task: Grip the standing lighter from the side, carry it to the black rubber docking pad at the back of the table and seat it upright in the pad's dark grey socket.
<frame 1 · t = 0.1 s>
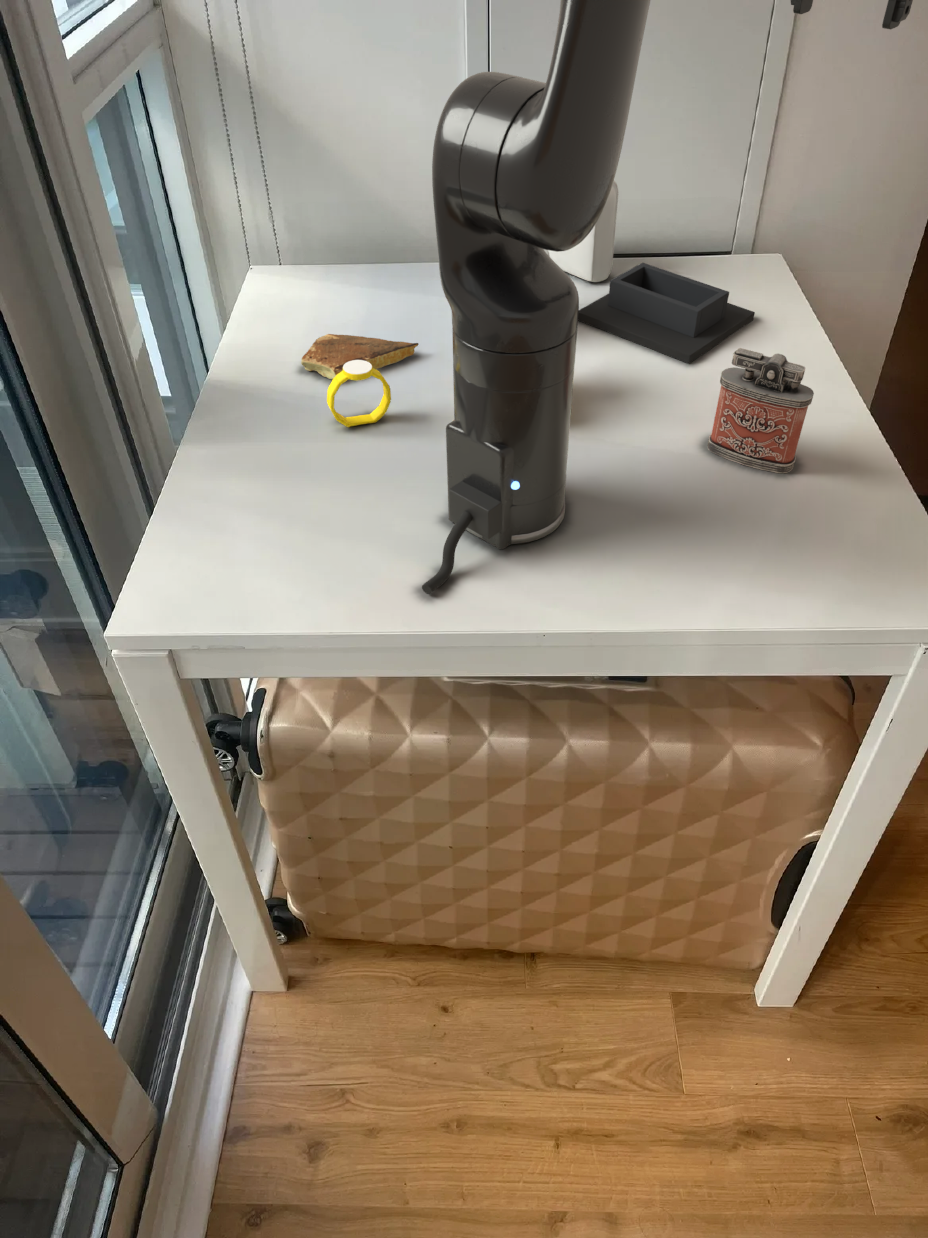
hand: (845, 19, 84), 29 cm above the table, tool pointing down, fingers open, 8 cm apart
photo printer: (573, 269, 116), on the table
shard: (353, 359, 101), on the table
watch: (361, 423, 92), on the table
cup: (501, 332, 105), on the table
lighter: (749, 457, 87), on the table
dock pad: (664, 319, 106), on the table
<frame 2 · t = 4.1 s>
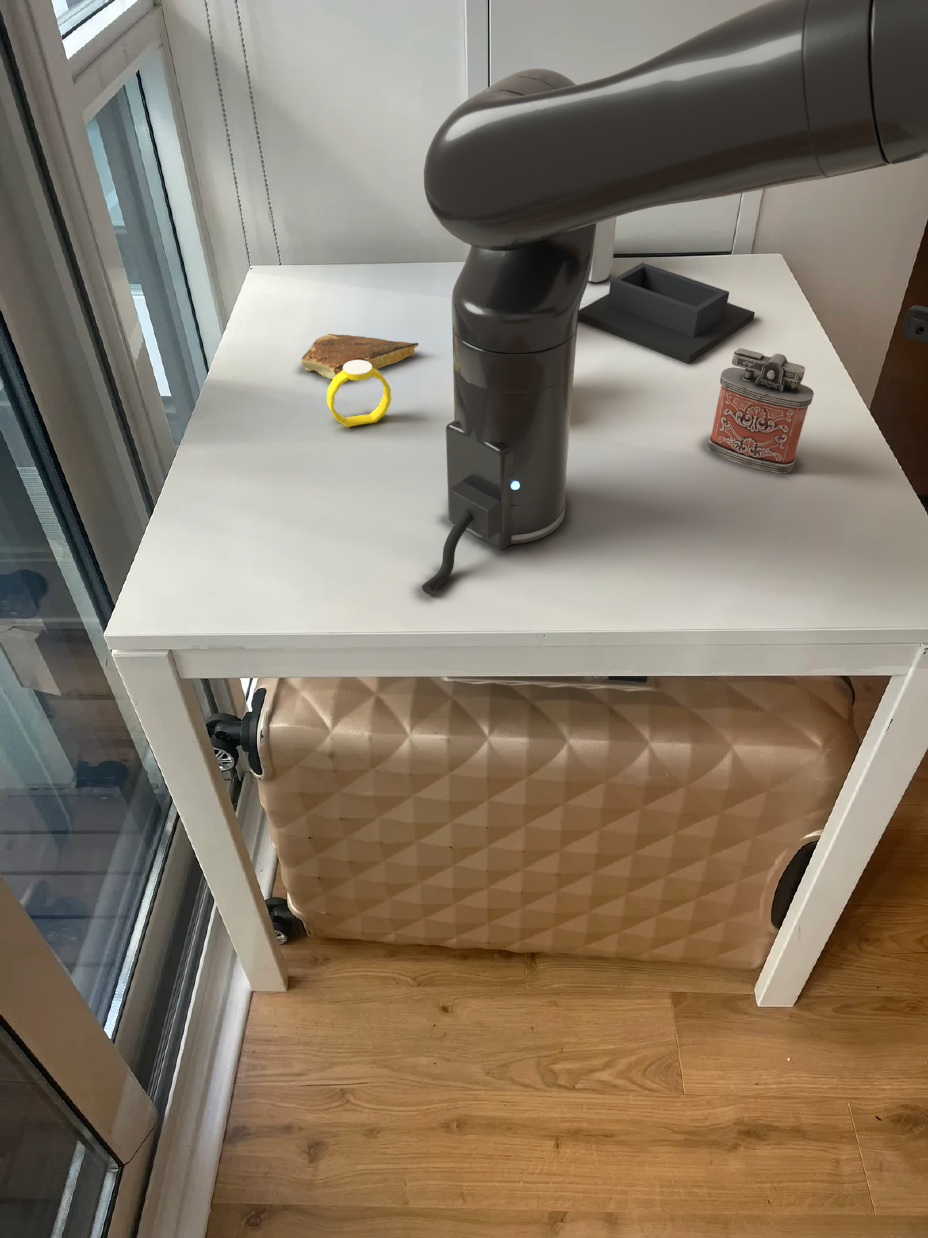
hand: (927, 298, 70), 18 cm above the table, tool horizontal, fingers open, 8 cm apart
nothing on the table moved.
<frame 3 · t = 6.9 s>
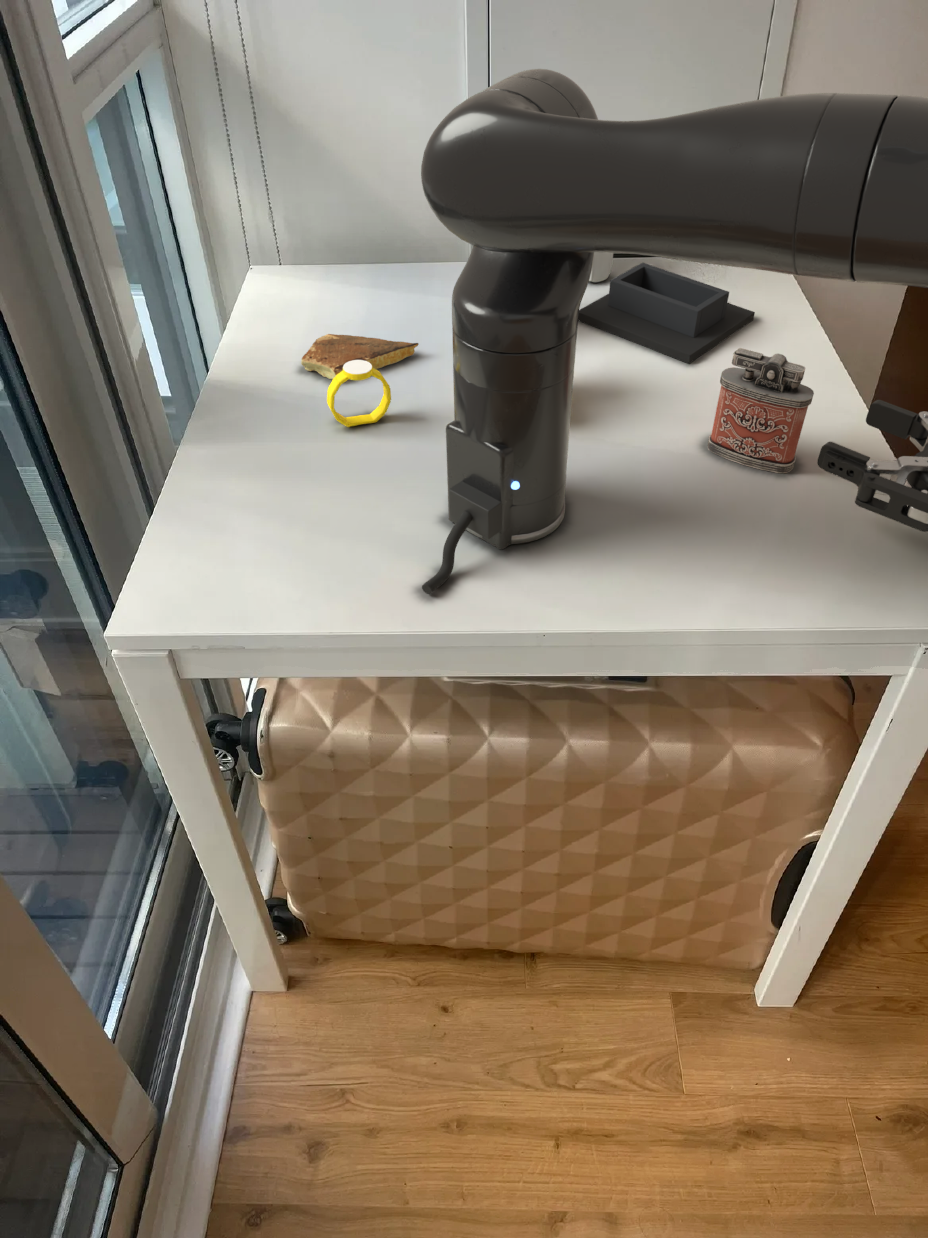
hand: (846, 431, 79), 6 cm above the table, tool horizontal, fingers open, 8 cm apart
nothing on the table moved.
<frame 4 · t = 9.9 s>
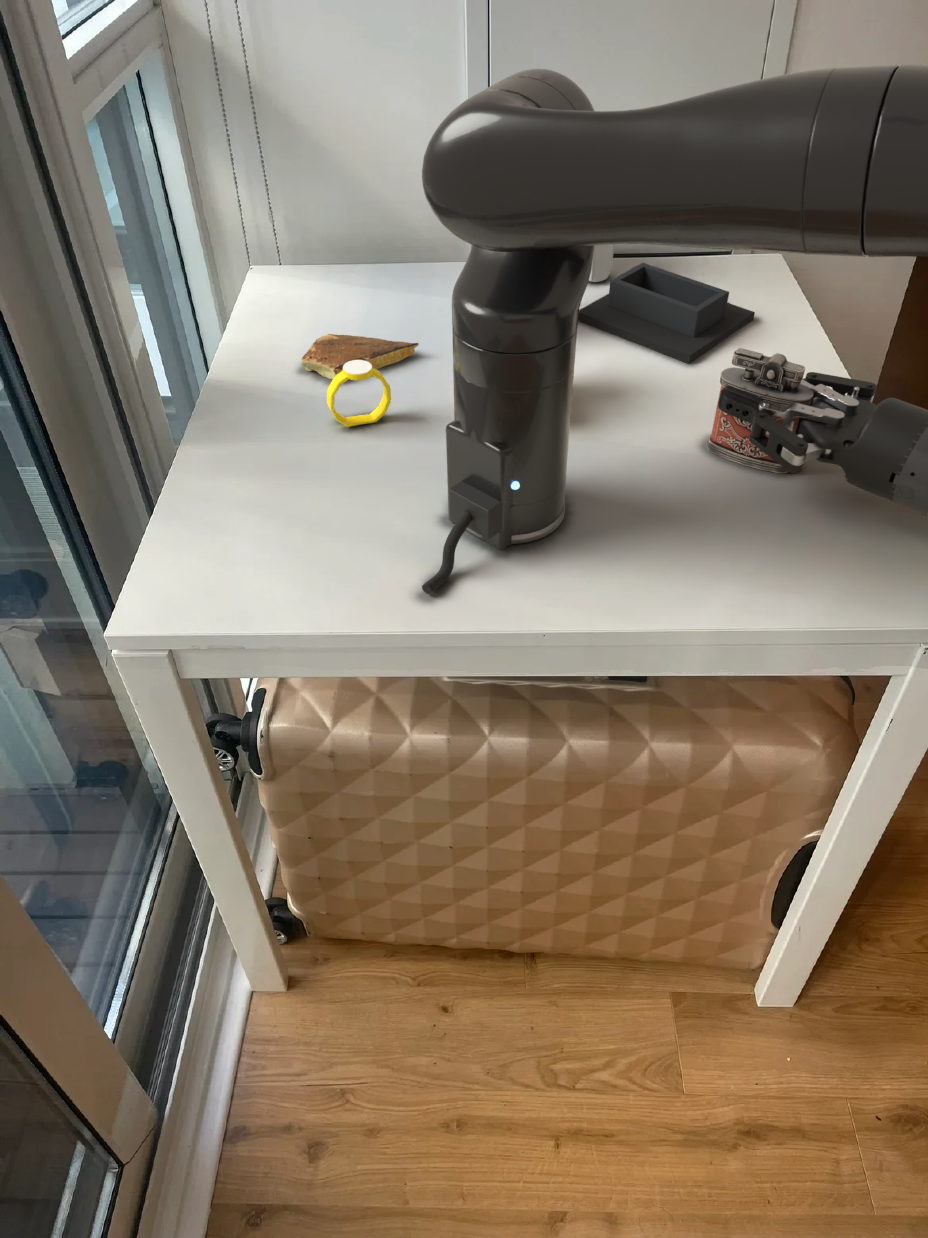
hand: (735, 387, 84), 6 cm above the table, tool horizontal, fingers closed on lighter, 3 cm apart
lighter: (749, 457, 87), on the table, touching gripper
everything else where it was.
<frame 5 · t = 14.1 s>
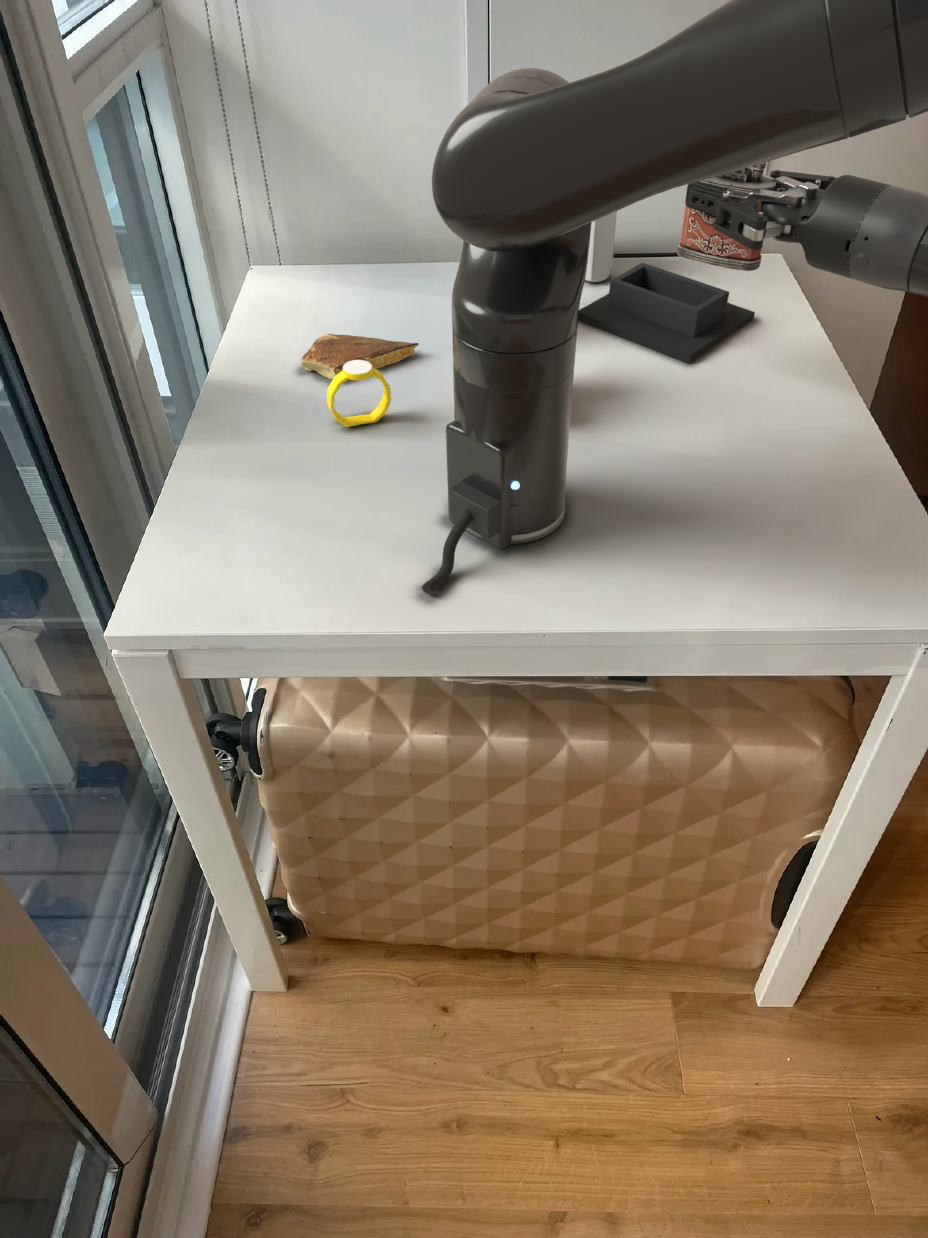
hand: (702, 186, 87), 18 cm above the table, tool horizontal, fingers closed on lighter, 3 cm apart
lighter: (717, 260, 90), point 12 cm above the table, touching gripper
everything else where it was.
when the fingers open (7 cm above the table, at t = 18.8 s): lighter stays where it is, resting on dock pad.
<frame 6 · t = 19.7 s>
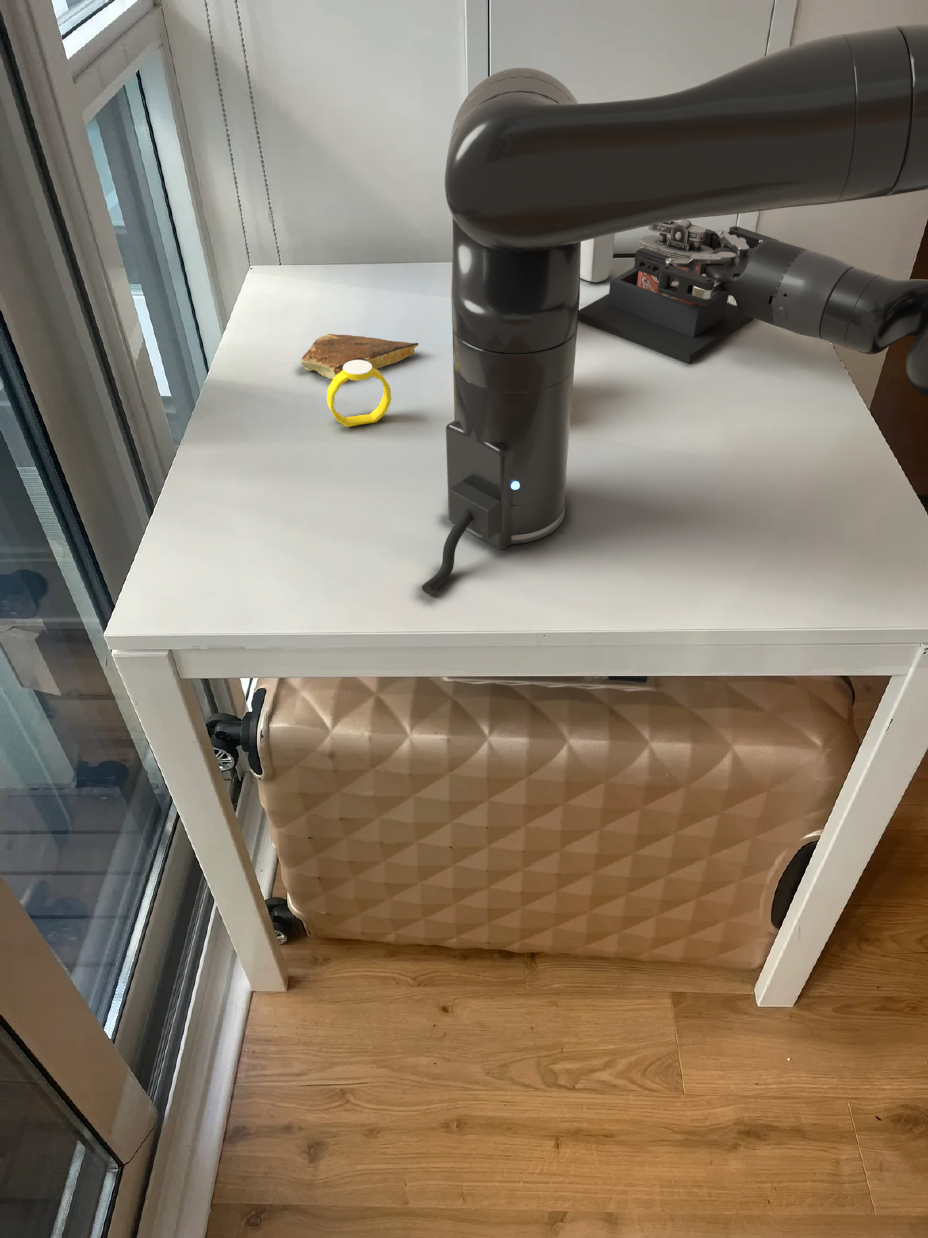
hand: (660, 245, 101), 8 cm above the table, tool horizontal, fingers open, 8 cm apart
lighter: (667, 313, 105), point 1 cm above the table, touching dock pad
everything else where it was.
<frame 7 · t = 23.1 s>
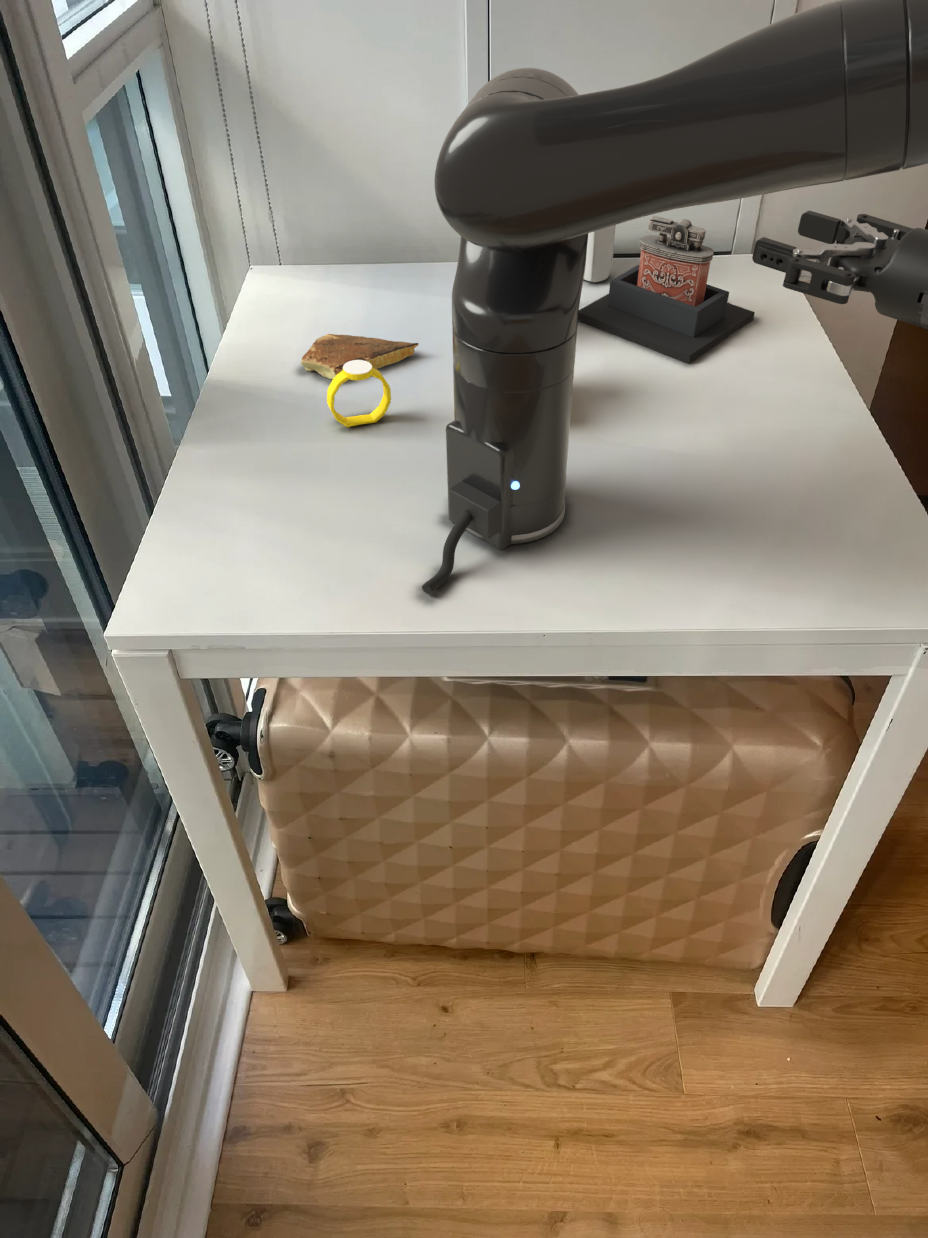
hand: (778, 235, 89), 13 cm above the table, tool horizontal, fingers open, 8 cm apart
nothing on the table moved.
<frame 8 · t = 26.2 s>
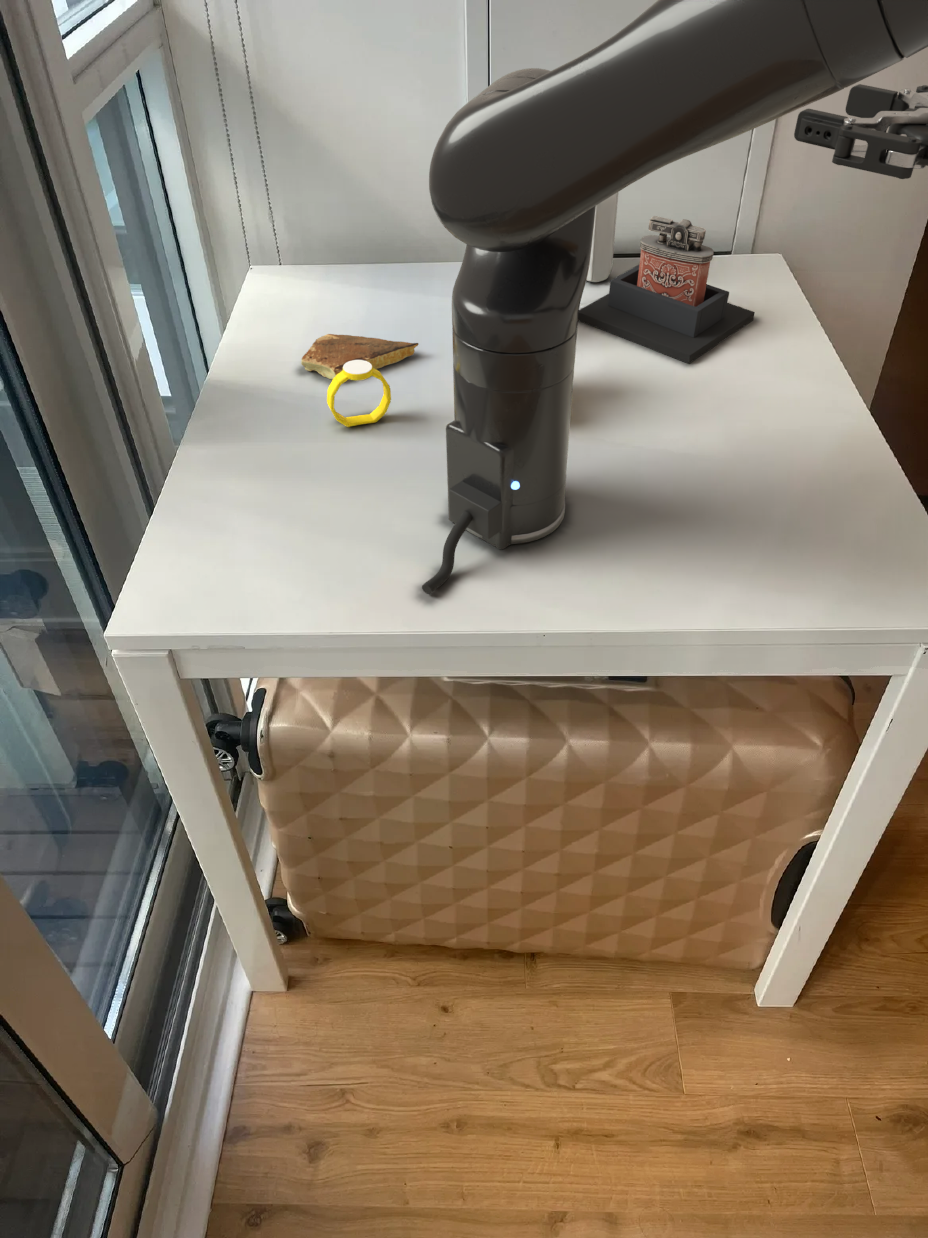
hand: (824, 110, 76), 26 cm above the table, tool horizontal, fingers open, 8 cm apart
nothing on the table moved.
at the end: lighter 0.2 cm off-centre on the dock pad, point 0.8 cm above the dock pad's base; lighter tilted 0°; the gripper is holding nothing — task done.
